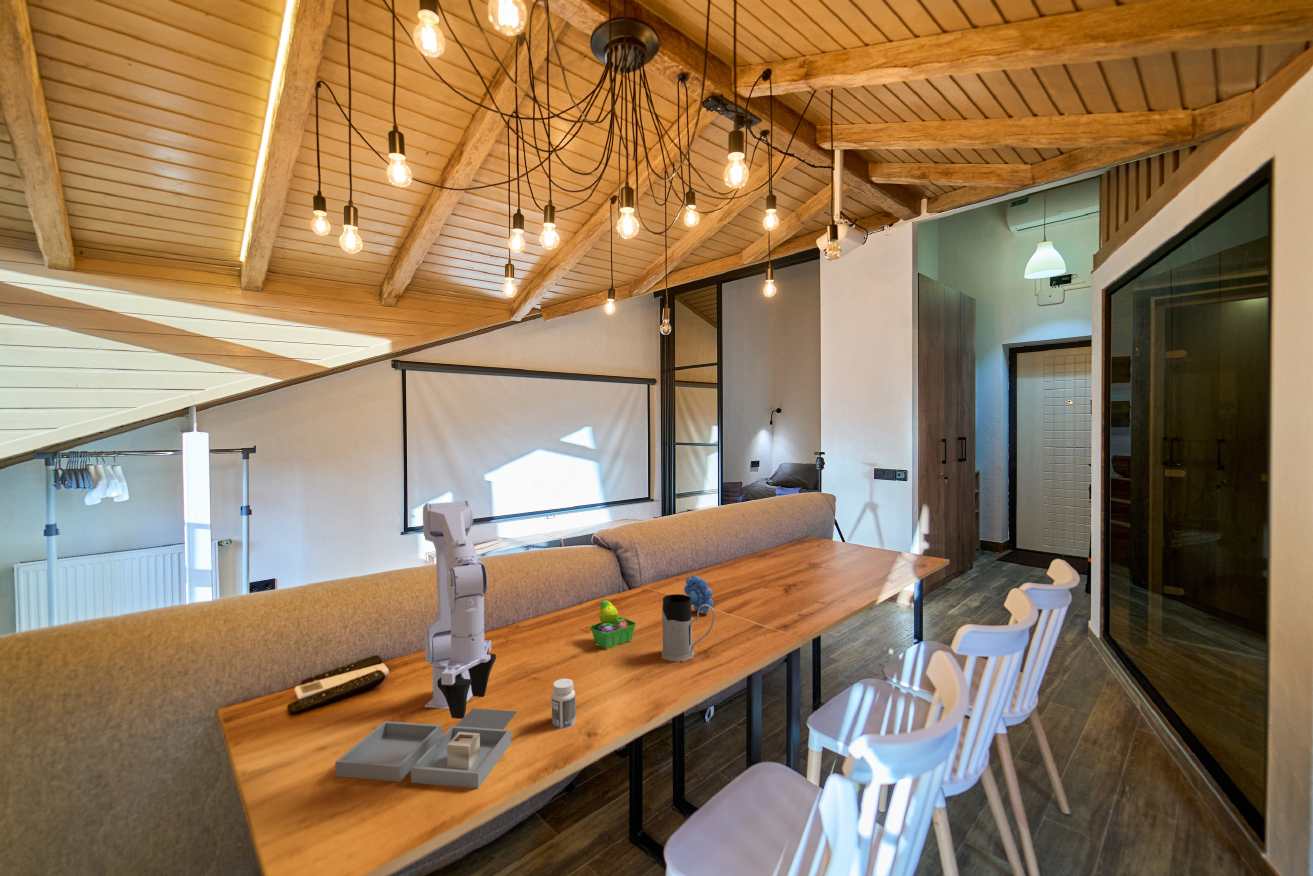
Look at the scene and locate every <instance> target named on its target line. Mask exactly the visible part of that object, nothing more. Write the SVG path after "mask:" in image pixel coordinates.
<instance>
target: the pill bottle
mask: <svg viewBox="0 0 1313 876" xmlns="http://www.w3.org/2000/svg"><path fill="white" fill-rule="evenodd" d="M552 690H553V691H552V694H551V724H552V725H553V726H554V727H556V728H560V729H563V728H569V727H571V726H573V725H575V723H576V722H577V715H576V714H577V713H576V712H577V711H576V691H575V690H574V681H573V679H570V678H561V679H557V680H555V681H554V682H553V686H552Z"/></svg>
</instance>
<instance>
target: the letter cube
mask: <svg viewBox="0 0 1313 876" xmlns="http://www.w3.org/2000/svg"><path fill="white" fill-rule="evenodd" d="M479 756H480V733H467V732H458V734H457V735H456V736H455V737H454V738H453V739H452V740H451V741H450V742H449V743H448V744H447V764H448V768H460V769H470V767H471V766H472V765H473V764H474V762H475V761H476V760H477V759H478V757H479Z"/></svg>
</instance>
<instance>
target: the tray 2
mask: <svg viewBox="0 0 1313 876" xmlns="http://www.w3.org/2000/svg"><path fill="white" fill-rule="evenodd" d="M458 732H467V733H480V756H479V757H478V759H477V760H476V761H475V762H474V764H473V765H472V766H471V767H470V769H460V768H448V764H447V744H448V743H449V742H450V741H451V740H452V739H453V738H454V737H455V736H456V735H457V734H458ZM511 744H512V730H511V729H505V728H504V729H489V728H475V727H461V726H456V725H451V726H450V727H449V728H448V729H447V730H446V731H445V732H444V733H442V736H441V737H440V738H439V739H438V740H437V741H436V742H435V744H434V745H433V746H432V747H431V748H430V749H429V750H428V751H427V752H426V753H425V754H424V755H423V756H422V757H421V758H420V759H419V760H418V761H417V762H416V763H415V764H414V765H413V766H412V767H411V771H410V783H411V784H422V785H423V784H424V785H433V786H446V787H456V788H457V787H458V788H467V789H469V788H470V789H477V790H478V789H480V787H481V786H482V784H483V783H484V781H485V780H486V778H487V777H488V776H489V775H490V773H491V772H492V770H493V769H494V767H495V766H496V765H497V764H498V762H499V760H501V758H502V757H503V755H504V754H505V752H506V751H507V750H508V749H509V747H510V746H511Z"/></svg>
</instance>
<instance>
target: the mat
mask: <svg viewBox="0 0 1313 876" xmlns="http://www.w3.org/2000/svg"><path fill="white" fill-rule="evenodd" d="M517 713H518V711H516V710H499V709H487V708H485V709H483V708H471V709H470V710H469V712H467V714H465V716H464V718H463V719H461V720H460V721H459V722H458V723H457V724H456V725H455V726H461V727H475V728H489V729H504V730H505V728H507V726H508V724H509V723H510V721H511V720H512V719H513V718H514V716H515V715H516V714H517Z"/></svg>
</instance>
